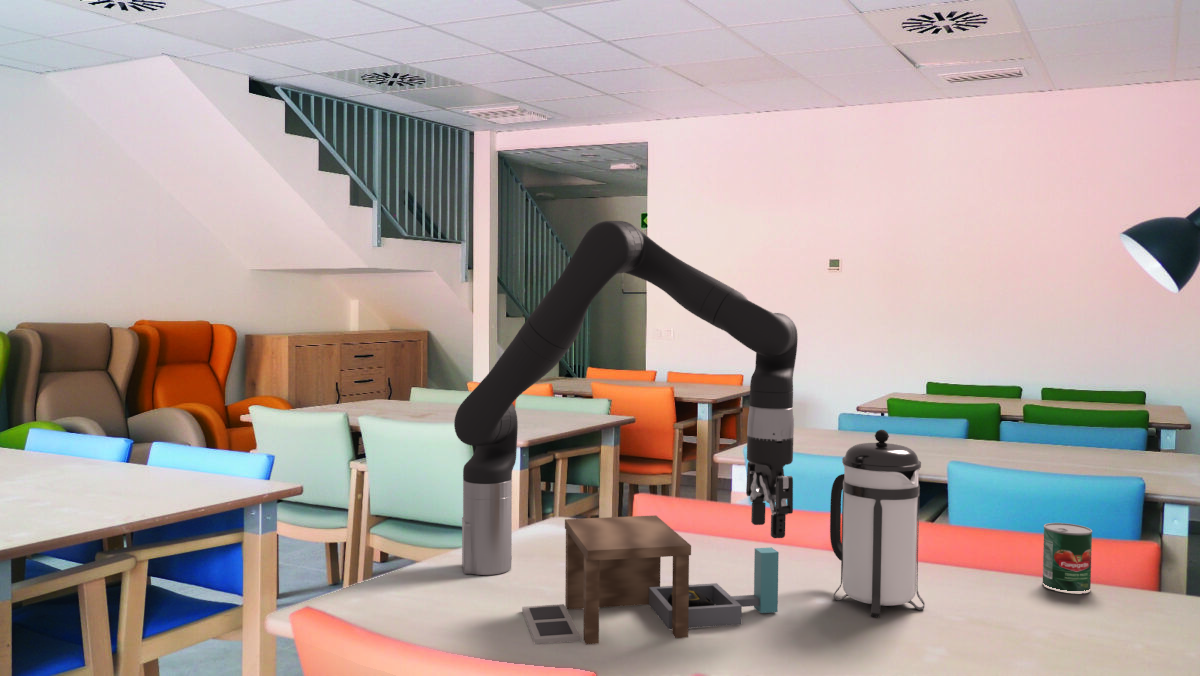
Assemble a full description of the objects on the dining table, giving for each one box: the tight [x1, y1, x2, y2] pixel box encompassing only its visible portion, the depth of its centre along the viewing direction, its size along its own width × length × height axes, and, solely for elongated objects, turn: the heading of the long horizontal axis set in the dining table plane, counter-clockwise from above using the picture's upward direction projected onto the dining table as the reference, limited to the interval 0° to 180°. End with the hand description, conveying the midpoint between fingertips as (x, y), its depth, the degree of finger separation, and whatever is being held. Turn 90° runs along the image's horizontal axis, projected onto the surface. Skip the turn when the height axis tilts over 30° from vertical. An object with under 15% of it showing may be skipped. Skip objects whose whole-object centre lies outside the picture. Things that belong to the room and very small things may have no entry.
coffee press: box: [829, 429, 925, 618], centre depth 160 cm, size 17×16×30 cm
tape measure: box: [668, 590, 715, 607], centre depth 153 cm, size 7×7×4 cm
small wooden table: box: [564, 515, 692, 645], centre depth 151 cm, size 16×20×14 cm
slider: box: [648, 547, 780, 630], centre depth 154 cm, size 20×12×10 cm, turn 102°
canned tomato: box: [1042, 522, 1093, 591], centre depth 170 cm, size 8×8×11 cm
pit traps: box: [521, 603, 582, 645], centre depth 148 cm, size 7×15×1 cm, turn 12°
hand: (767, 530), depth 155 cm, fingers open, 8 cm apart
